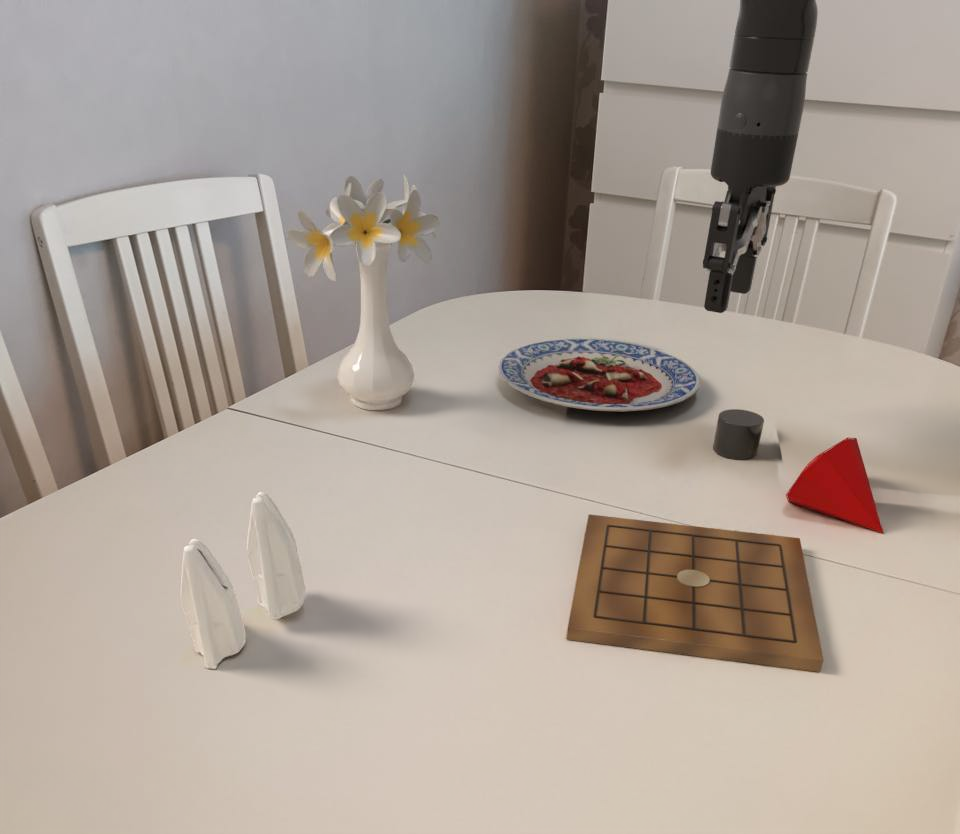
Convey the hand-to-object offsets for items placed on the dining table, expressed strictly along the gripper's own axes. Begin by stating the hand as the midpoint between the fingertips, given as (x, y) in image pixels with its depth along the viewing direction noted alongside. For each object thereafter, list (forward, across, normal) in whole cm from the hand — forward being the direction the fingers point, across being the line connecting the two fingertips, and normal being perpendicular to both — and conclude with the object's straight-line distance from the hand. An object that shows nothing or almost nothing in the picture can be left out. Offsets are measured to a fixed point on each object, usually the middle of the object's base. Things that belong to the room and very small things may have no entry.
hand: (727, 301), depth 100 cm
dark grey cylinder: (+17, +2, -3) cm, 17 cm away
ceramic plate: (+17, +12, +18) cm, 27 cm away
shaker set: (+17, -54, +20) cm, 60 cm away
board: (+17, -30, -9) cm, 35 cm away
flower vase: (+17, -9, +38) cm, 43 cm away
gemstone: (+17, -7, -17) cm, 25 cm away
